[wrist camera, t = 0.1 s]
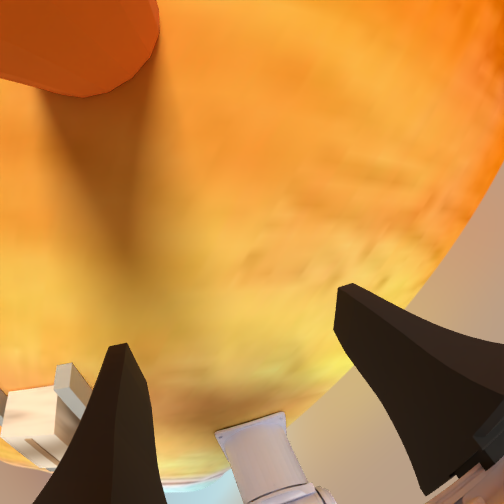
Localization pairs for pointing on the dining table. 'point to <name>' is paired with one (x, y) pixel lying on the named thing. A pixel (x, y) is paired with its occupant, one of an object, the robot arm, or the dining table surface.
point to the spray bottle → (76, 43)
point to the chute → (64, 391)
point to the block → (38, 425)
